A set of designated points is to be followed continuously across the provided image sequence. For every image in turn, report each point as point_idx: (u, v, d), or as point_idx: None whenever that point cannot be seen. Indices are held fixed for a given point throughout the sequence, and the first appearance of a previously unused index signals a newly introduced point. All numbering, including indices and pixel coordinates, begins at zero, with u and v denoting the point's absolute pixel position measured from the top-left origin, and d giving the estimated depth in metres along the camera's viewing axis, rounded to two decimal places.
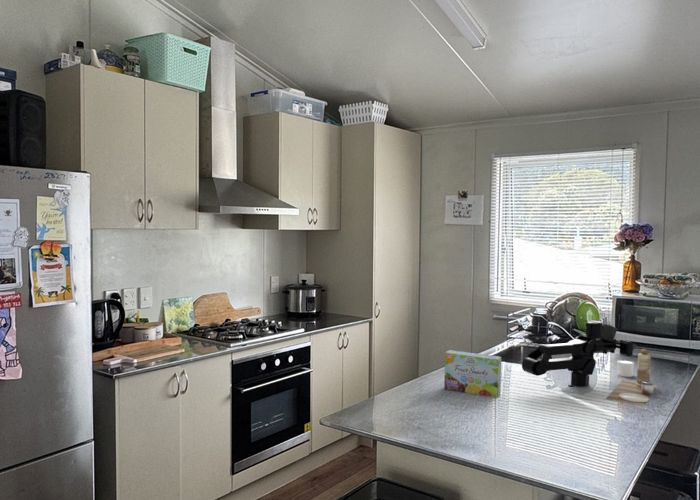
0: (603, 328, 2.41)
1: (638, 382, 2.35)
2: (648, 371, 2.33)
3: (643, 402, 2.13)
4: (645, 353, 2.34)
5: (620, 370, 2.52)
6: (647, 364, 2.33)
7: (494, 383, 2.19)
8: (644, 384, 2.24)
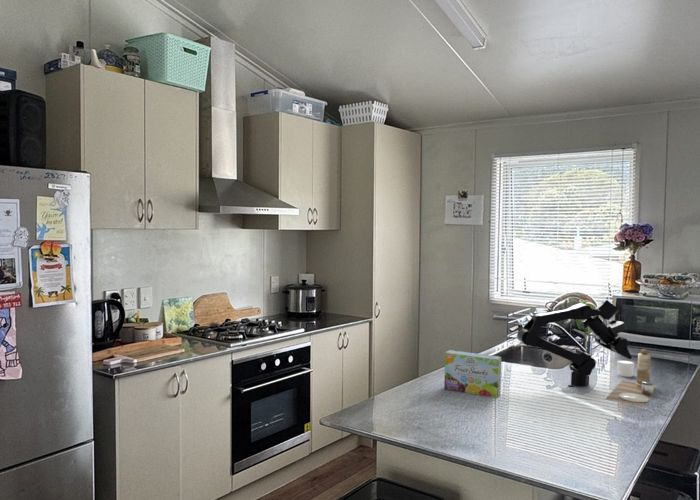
0: (615, 322, 2.36)
1: (638, 382, 2.35)
2: (648, 371, 2.33)
3: (643, 402, 2.13)
4: (645, 353, 2.34)
5: (620, 370, 2.52)
6: (648, 364, 2.33)
7: (494, 383, 2.19)
8: (644, 384, 2.24)
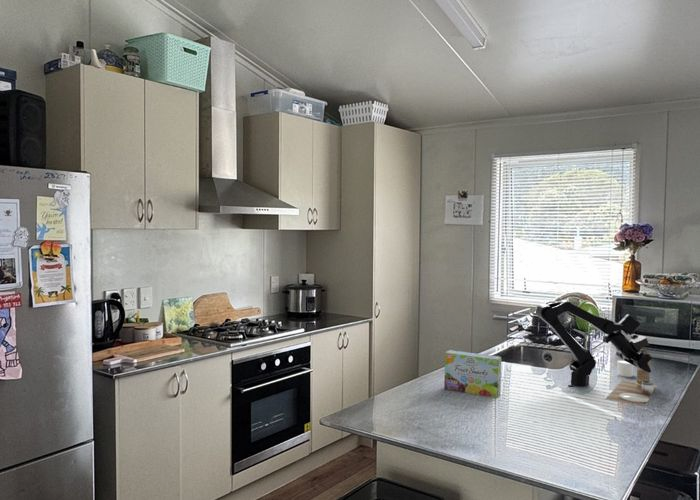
0: (637, 337, 2.37)
1: (638, 382, 2.35)
2: None
3: (643, 402, 2.13)
4: None
5: (620, 370, 2.52)
6: None
7: (494, 383, 2.19)
8: (644, 384, 2.24)
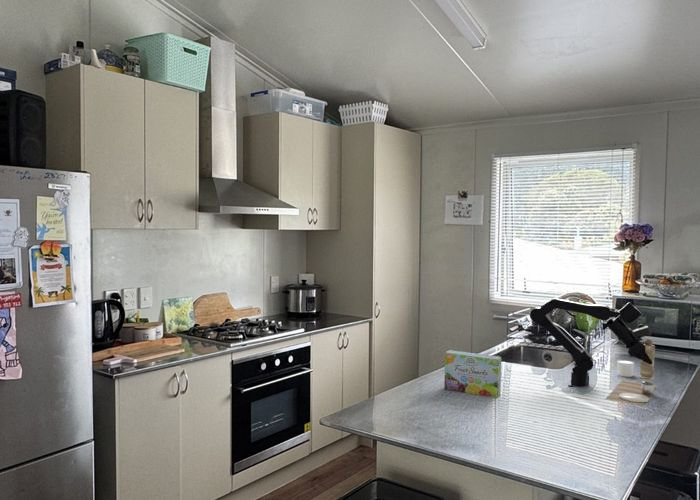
0: (642, 327, 2.27)
1: (640, 373, 2.26)
2: None
3: (643, 402, 2.13)
4: (648, 344, 2.24)
5: (620, 370, 2.52)
6: (649, 355, 2.23)
7: (494, 383, 2.19)
8: (644, 384, 2.24)
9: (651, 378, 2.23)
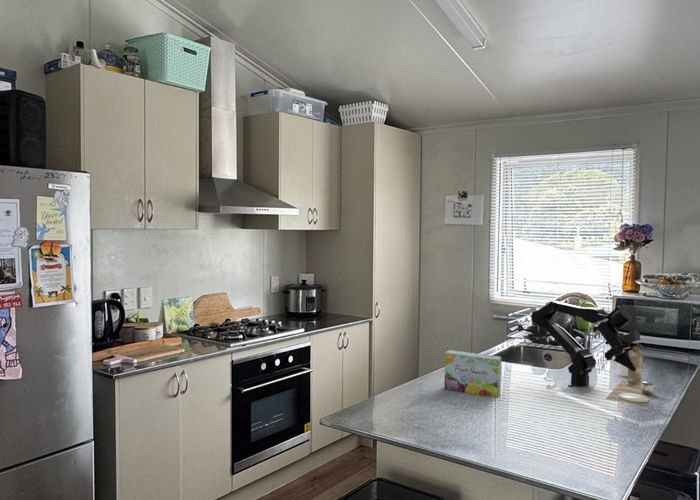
0: None
1: None
2: None
3: (643, 402, 2.13)
4: (633, 350, 2.16)
5: (620, 370, 2.52)
6: (633, 362, 2.15)
7: (494, 383, 2.19)
8: (644, 384, 2.24)
9: (635, 386, 2.15)
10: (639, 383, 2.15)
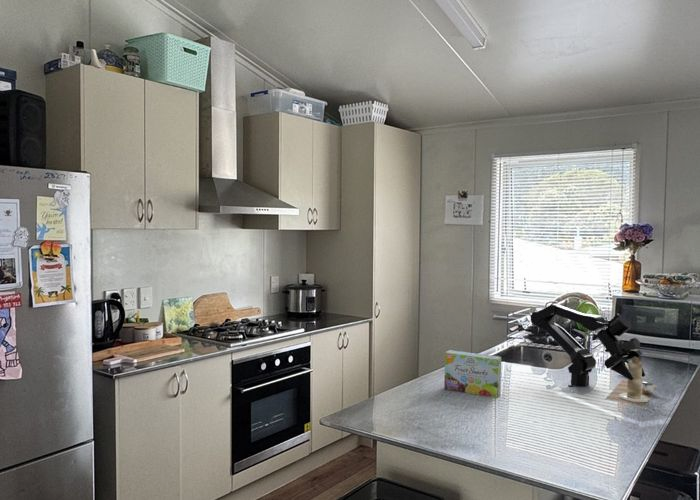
0: (632, 340, 2.19)
1: (627, 391, 2.19)
2: (634, 381, 2.15)
3: (643, 402, 2.13)
4: (633, 361, 2.16)
5: None
6: (633, 373, 2.15)
7: (494, 383, 2.19)
8: (644, 384, 2.24)
9: (635, 397, 2.15)
10: (639, 394, 2.16)
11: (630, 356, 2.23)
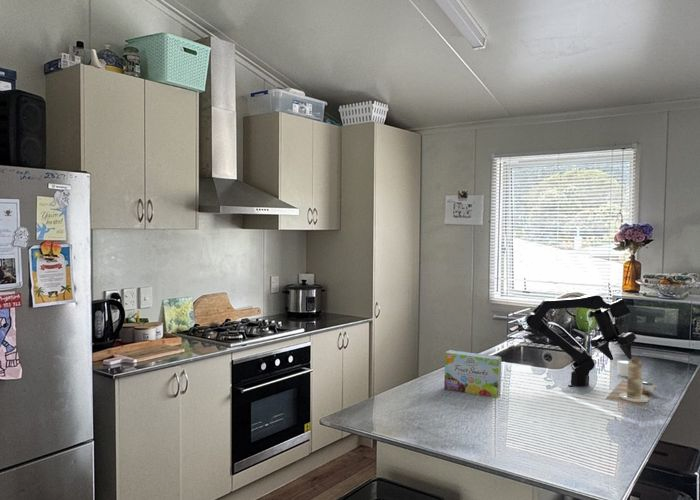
0: None
1: None
2: (633, 381, 2.15)
3: (643, 402, 2.13)
4: (633, 361, 2.17)
5: (620, 370, 2.52)
6: (632, 373, 2.16)
7: (494, 383, 2.19)
8: (644, 384, 2.24)
9: (635, 397, 2.15)
10: (639, 394, 2.16)
11: None
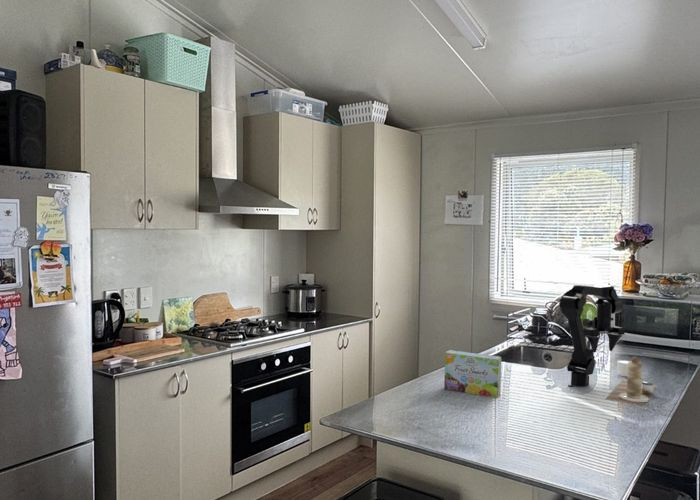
0: None
1: None
2: (633, 381, 2.15)
3: (643, 402, 2.13)
4: (633, 361, 2.17)
5: (620, 370, 2.52)
6: (632, 373, 2.16)
7: (494, 383, 2.19)
8: (644, 384, 2.24)
9: (635, 397, 2.15)
10: (639, 394, 2.16)
11: None
